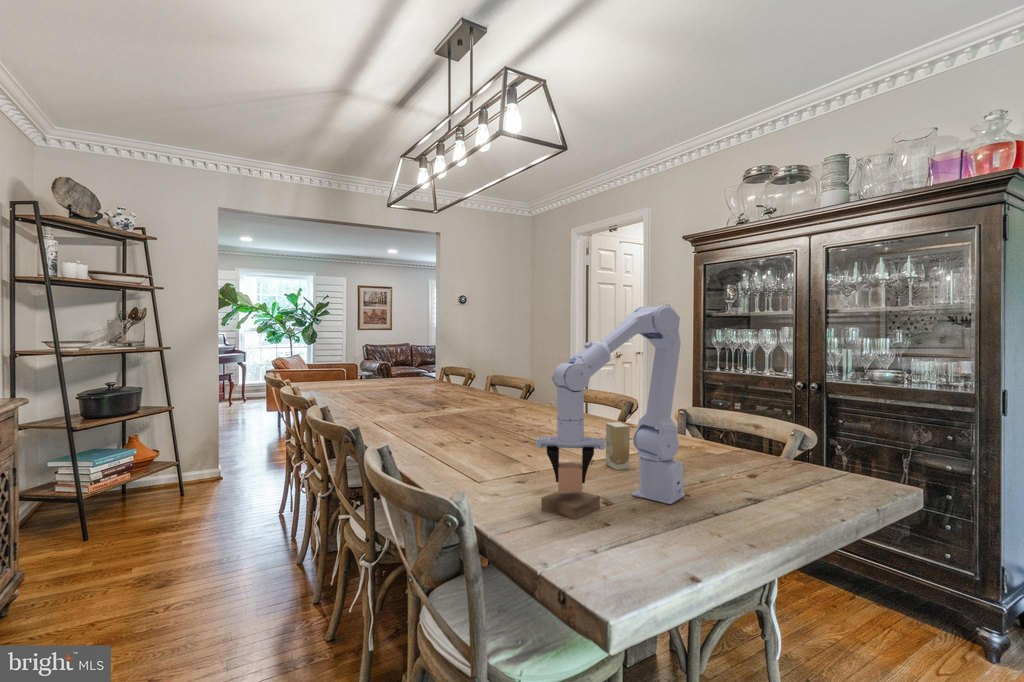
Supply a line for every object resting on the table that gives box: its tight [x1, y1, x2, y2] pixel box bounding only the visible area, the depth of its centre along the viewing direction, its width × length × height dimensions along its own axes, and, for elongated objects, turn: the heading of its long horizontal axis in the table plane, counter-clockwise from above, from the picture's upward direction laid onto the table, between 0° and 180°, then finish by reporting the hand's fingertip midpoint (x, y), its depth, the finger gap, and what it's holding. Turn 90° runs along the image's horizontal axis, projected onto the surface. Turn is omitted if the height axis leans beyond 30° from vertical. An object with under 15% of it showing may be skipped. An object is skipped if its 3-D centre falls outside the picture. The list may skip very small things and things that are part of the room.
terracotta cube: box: [557, 461, 583, 492], centre depth 106 cm, size 5×5×5 cm
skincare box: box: [605, 421, 631, 471], centre depth 139 cm, size 6×4×12 cm
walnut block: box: [540, 490, 601, 521], centre depth 106 cm, size 9×9×3 cm
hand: (570, 481), depth 106 cm, fingers closed on terracotta cube, 5 cm apart
